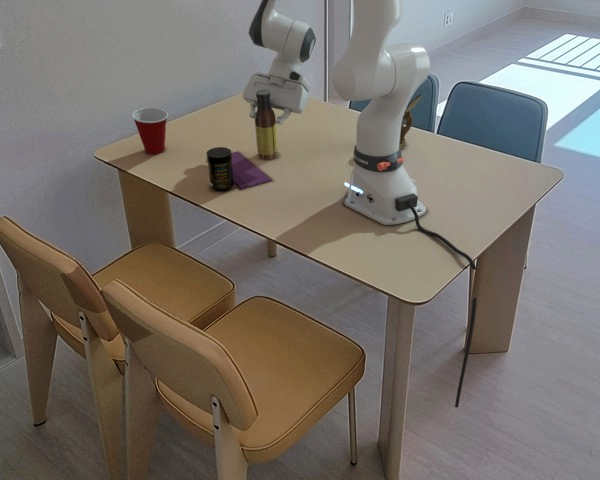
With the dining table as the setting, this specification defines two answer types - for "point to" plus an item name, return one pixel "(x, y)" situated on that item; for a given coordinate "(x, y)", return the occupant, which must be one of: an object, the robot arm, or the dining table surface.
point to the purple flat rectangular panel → (246, 172)
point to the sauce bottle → (265, 126)
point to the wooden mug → (408, 119)
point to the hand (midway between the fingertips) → (265, 120)
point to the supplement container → (220, 169)
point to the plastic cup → (151, 128)
